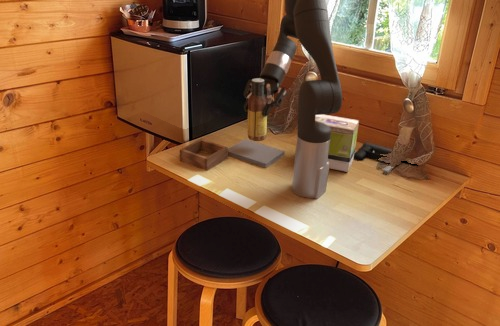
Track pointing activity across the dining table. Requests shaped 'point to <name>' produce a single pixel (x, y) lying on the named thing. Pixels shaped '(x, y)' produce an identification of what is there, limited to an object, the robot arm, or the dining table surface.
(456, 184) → the dining table surface
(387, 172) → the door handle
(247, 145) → the slate board
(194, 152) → the box
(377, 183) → the dining table surface
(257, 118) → the sauce bottle
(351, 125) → the tea box
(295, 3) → the robot arm
